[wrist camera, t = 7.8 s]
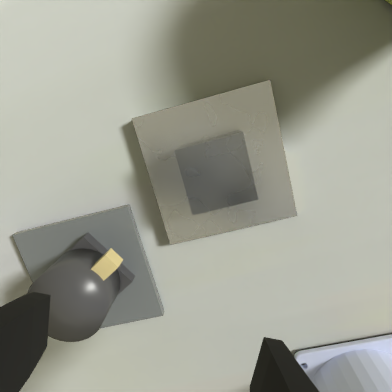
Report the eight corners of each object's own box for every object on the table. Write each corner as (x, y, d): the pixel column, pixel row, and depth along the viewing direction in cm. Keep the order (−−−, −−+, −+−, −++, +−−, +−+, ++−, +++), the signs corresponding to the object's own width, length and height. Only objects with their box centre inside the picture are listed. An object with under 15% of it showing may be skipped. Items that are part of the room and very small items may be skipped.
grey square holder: (294, 211, 20) (308, 228, 17) (171, 239, 21) (165, 260, 18) (267, 81, 18) (278, 74, 15) (134, 118, 19) (120, 119, 16)
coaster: (164, 311, 22) (163, 315, 21) (59, 332, 23) (56, 337, 22) (129, 204, 20) (127, 206, 20) (16, 232, 21) (12, 235, 21)
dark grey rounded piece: (94, 314, 22) (70, 355, 18) (45, 272, 21) (10, 305, 17) (149, 264, 21) (136, 297, 17) (100, 218, 20) (74, 241, 16)
